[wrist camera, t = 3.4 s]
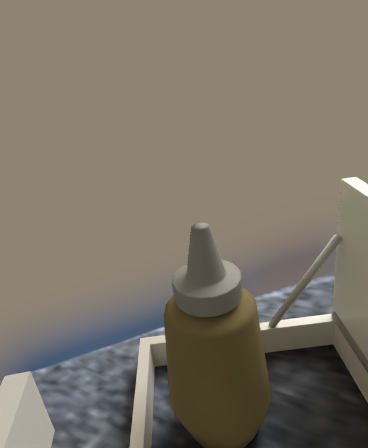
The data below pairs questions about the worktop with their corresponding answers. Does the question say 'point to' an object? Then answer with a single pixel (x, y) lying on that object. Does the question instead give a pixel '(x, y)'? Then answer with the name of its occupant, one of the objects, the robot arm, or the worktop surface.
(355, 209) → the access hatch
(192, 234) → the squeeze bottle
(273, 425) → the worktop surface
